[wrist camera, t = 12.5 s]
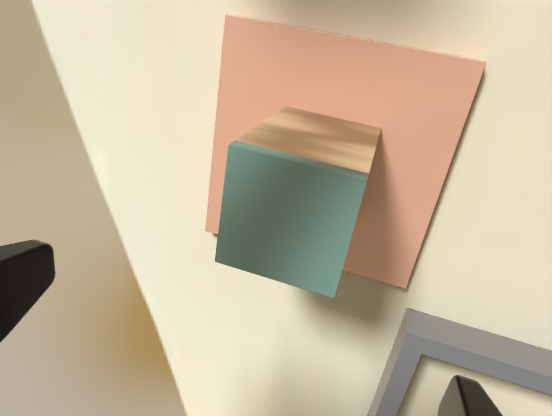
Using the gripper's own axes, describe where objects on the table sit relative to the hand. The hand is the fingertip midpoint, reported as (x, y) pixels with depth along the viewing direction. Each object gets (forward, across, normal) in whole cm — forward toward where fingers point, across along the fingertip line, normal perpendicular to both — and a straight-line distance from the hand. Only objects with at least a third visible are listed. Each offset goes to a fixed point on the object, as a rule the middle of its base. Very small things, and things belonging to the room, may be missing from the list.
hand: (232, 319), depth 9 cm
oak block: (+12, 0, 0) cm, 12 cm away
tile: (+13, 0, 0) cm, 13 cm away
